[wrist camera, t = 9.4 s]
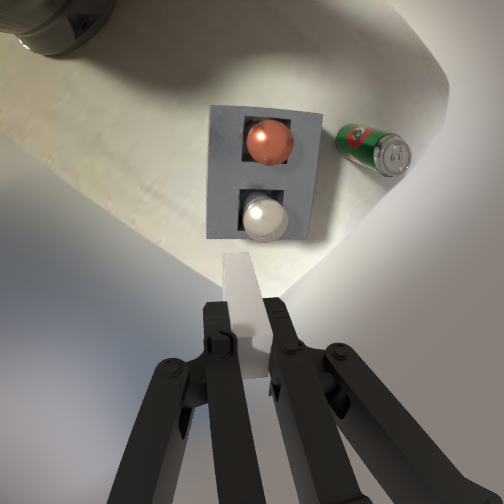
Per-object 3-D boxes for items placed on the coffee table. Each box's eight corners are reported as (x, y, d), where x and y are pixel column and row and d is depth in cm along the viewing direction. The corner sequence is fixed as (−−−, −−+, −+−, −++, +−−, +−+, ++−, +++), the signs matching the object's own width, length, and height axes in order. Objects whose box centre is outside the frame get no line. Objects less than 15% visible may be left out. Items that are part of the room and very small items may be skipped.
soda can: (332, 156, 41) (374, 177, 30) (336, 121, 38) (381, 131, 28) (363, 159, 42) (410, 181, 31) (367, 126, 39) (417, 139, 29)
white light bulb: (237, 180, 37) (245, 200, 30) (273, 181, 38) (290, 201, 31) (235, 215, 39) (242, 242, 32) (270, 215, 40) (285, 242, 33)
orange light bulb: (240, 115, 34) (249, 118, 27) (277, 118, 35) (295, 122, 28) (237, 152, 36) (246, 164, 29) (274, 153, 37) (291, 166, 30)
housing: (209, 105, 35) (210, 105, 28) (301, 111, 37) (322, 114, 30) (205, 214, 42) (206, 238, 35) (290, 215, 44) (306, 239, 37)
